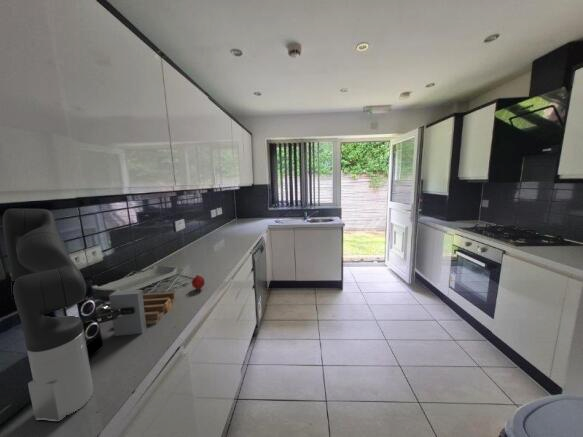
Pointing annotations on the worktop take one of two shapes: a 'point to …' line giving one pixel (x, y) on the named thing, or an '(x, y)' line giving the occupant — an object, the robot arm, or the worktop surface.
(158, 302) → the rack
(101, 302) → the robot arm
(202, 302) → the worktop surface
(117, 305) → the panel
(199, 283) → the onion
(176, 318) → the worktop surface
